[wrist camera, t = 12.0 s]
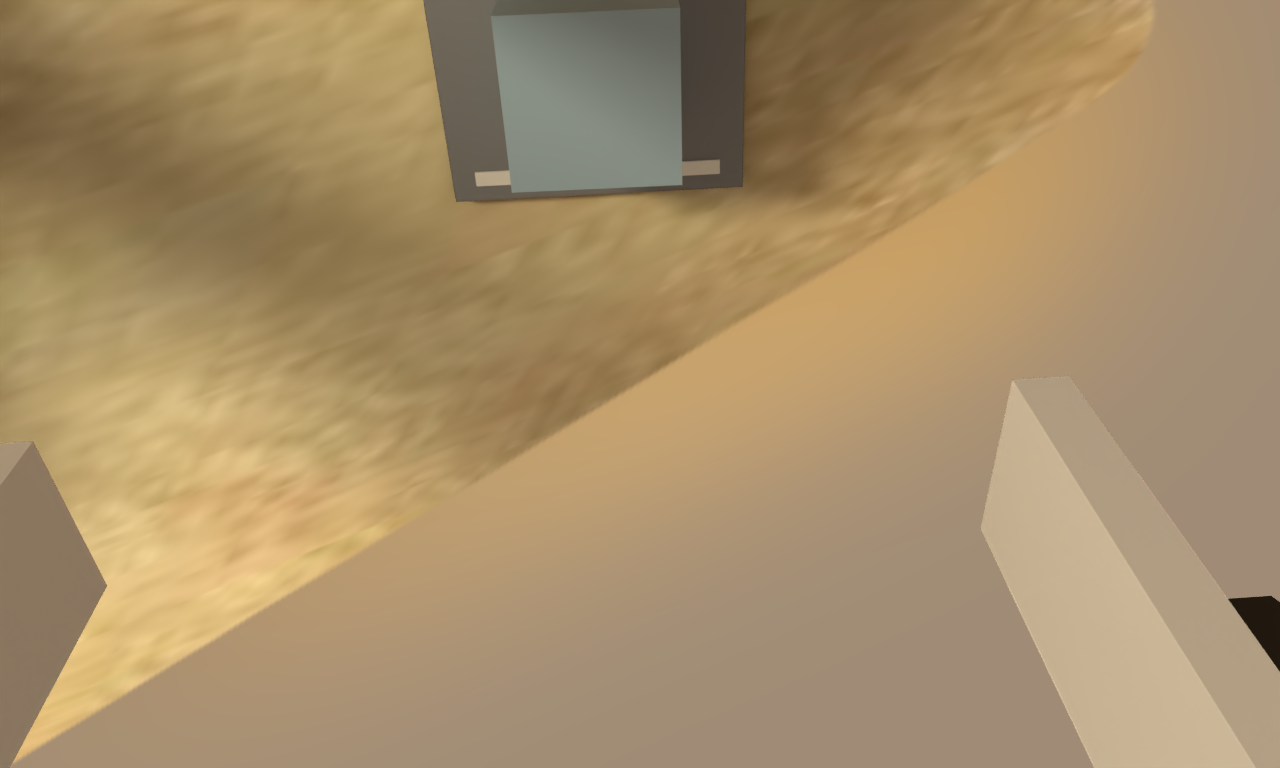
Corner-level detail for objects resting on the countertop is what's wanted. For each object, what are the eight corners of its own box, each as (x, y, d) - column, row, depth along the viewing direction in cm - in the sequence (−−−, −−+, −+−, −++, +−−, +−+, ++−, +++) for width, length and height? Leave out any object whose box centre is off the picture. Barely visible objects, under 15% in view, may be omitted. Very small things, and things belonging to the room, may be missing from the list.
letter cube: (506, -27, 30) (491, 15, 26) (670, -34, 30) (680, 7, 26) (524, 135, 33) (512, 197, 29) (673, 128, 33) (682, 189, 29)
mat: (458, 194, 35) (455, 202, 34) (407, -121, 29) (404, -117, 28) (740, 179, 35) (742, 187, 34) (745, -138, 29) (748, -135, 28)
